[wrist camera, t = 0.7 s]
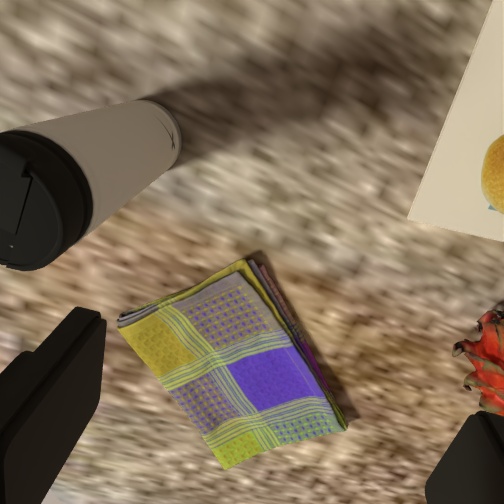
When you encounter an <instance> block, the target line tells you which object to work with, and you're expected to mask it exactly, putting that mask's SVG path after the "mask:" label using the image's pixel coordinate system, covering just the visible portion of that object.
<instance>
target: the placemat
mask: <svg viewBox="0 0 504 504" xmlns="http://www.w3.org/2000/svg"><path fill="white" fill-rule="evenodd" d="M503 134H504V0H493V1H492V4H491V6H490V9H489V11H488V14H487V16H486V19H485V22H484V24H483V27H482V29H481V32H480V34H479V37H478V39H477V42H476V44H475V47H474V49H473V52H472V54H471V57H470V59H469V62H468V65H467V67H466V70H465V72H464V75H463V77H462V80H461V82H460V85H459V87H458V90H457V92H456V95H455V97H454V100H453V103H452V105H451V108H450V110H449V113H448V115H447V118H446V120H445V123H444V125H443V128H442V130H441V133H440V135H439V138H438V141H437V143H436V146H435V148H434V151H433V153H432V156H431V158H430V161H429V163H428V166H427V168H426V171H425V173H424V176H423V179H422V181H421V184H420V186H419V189H418V191H417V194H416V196H415V199H414V201H413V204H412V206H411V209H410V211H409V214H408V217H407V220H410V221H415V222H419V223H423V224H428V225H432V226H436V227H441V228H445V229H449V230H454V231H458V232H463V233H467V234H471V235H476V236H480V237H484V238H489V239H493V240H498V241H502V242H504V215H503V214H501V213H500V212H498V211H497V210H496V209H494V208H493V207H492V206H491V205H490V204H489V203H488V201H487V200H486V199H485V197H484V195H483V192H482V188H481V171H482V166H483V161H484V157H485V154H486V152H487V149H488V147H489V146H490V145H491V144H492V143H493V142H494V141H495V140H496V139H498V138H499V137H500V136H502V135H503Z"/></svg>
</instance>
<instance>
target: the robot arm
mask: <svg viewBox="0 0 504 504" xmlns="http://www.w3.org/2000/svg"><path fill="white" fill-rule="evenodd" d="M106 326H107V321H106V320H105V319H101V314H100V312H98V311H94V310H90V309H86V308H82V307H75V308H74V309H73V310H72V311H71V312H70V313H69V314H68V315H67V316H66V317H65V319H64V320H63V321H62V322H61V323H60V324H59V325H58V326H57V327H56V328H55V329H54V330H53V332H52V333H51V334H50V335H49V336H48V337H47V338H46V339H45V340H44V341H43V342H42V344H41V345H40V346H39V347H38V348H37V349H36V350H35V351H34V352H31V351H24V352H22V353H21V354H19V355H18V356H17V357H16V358H15V359H14V360H13V361H12V362H11V363H10V364H9V365H8V366H7V367H6V368H5V369H4V370H3V371H2V372H1V374H0V504H41V503H42V501H43V499H44V498H45V496H46V494H47V492H48V491H49V489H50V487H51V486H52V484H53V482H54V481H55V479H56V477H57V475H58V474H59V472H60V470H61V469H62V467H63V465H64V464H65V462H66V460H67V458H68V457H69V455H70V453H71V452H72V450H73V448H74V446H75V445H76V443H77V441H78V440H79V438H80V436H81V435H82V433H83V431H84V429H85V428H86V426H87V424H88V423H89V421H90V419H91V418H92V416H93V414H94V412H95V410H96V408H97V406H98V403H99V399H100V392H101V381H102V370H103V359H104V348H105V337H106ZM425 496H426V500H427V504H504V416H502V415H498V414H494V413H490V412H486V411H478V412H477V413H476V414H475V415H473V414H472V415H470V416H469V417H468V418H467V420H466V421H465V423H464V424H463V426H462V428H461V429H460V431H459V432H458V434H457V435H456V437H455V438H454V440H453V441H452V443H451V444H450V446H449V448H448V449H447V451H446V452H445V454H444V455H443V457H442V458H441V460H440V461H439V463H438V464H437V466H436V468H435V469H434V471H433V472H432V474H431V475H430V477H429V478H428V480H427V482H426V485H425Z"/></svg>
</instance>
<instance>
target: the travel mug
mask: <svg viewBox="0 0 504 504" xmlns="http://www.w3.org/2000/svg"><path fill="white" fill-rule="evenodd" d="M181 146H182V137H181V132H180V128H179V126H178V124H177V122H176V120H175V119H174V117H173V116H172V114H171V113H170V112H169V111H168V110H167V109H165V108H164V107H163V106H161V105H159V104H157V103H155V102H153V101H149V100H135V101H130V102H126V103H121V104H117V105H113V106H108V107H104V108H100V109H95V110H91V111H86V112H82V113H78V114H73V115H69V116H65V117H60V118H56V119H52V120H47V121H43V122H38V123H34V124H30V125H25V126H21V127H17V128H13V129H8V130H3V131H0V264H1V265H7V266H6V268H11V269H15V270H20V271H33V270H37V269H40V268H43V267H45V266H47V265H48V264H50V263H51V262H53V261H54V260H55V259H56V258H58V257H59V256H60V255H61V254H63V253H64V252H65V251H66V250H68V249H69V248H70V247H72V246H73V245H75V244H76V243H78V242H79V241H81V240H82V239H83V238H84V237H85V236H87V235H88V234H89V233H90V232H92V231H93V230H94V229H95V228H97V227H98V226H99V225H100V224H102V223H103V222H104V221H105V220H106V219H108V218H109V217H110V216H111V215H113V214H114V213H115V212H116V211H118V210H119V209H120V208H121V207H122V206H124V205H125V204H126V203H127V202H129V201H130V200H131V199H132V198H134V197H135V196H136V195H137V194H139V193H140V192H141V191H142V190H143V189H145V188H146V187H147V186H148V185H150V184H151V183H152V182H153V181H155V180H156V179H157V178H158V177H159V176H161V175H162V174H163V173H164V172H165V171H167V170H168V169H169V168H171V167H172V165H173V164H174V163H175V162H176V160H177V159H178V157H179V154H180V152H181Z"/></svg>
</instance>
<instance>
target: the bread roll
mask: <svg viewBox="0 0 504 504" xmlns="http://www.w3.org/2000/svg"><path fill="white" fill-rule="evenodd" d="M481 188H482V192H483V195H484V197H485V199H486V200H487V201H488V203H489V204H490V205H491V206H492V207H493V208H494V209H496V210H497V211H498V212H500V213H501V214H503V215H504V134H503V135H502V136H500V137H499V138H498V139H496V140H495V141H494V142H493V143H492V144H491V145H490V146H489V147H488V149H487V152H486V154H485V157H484V161H483V166H482V171H481Z"/></svg>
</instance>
